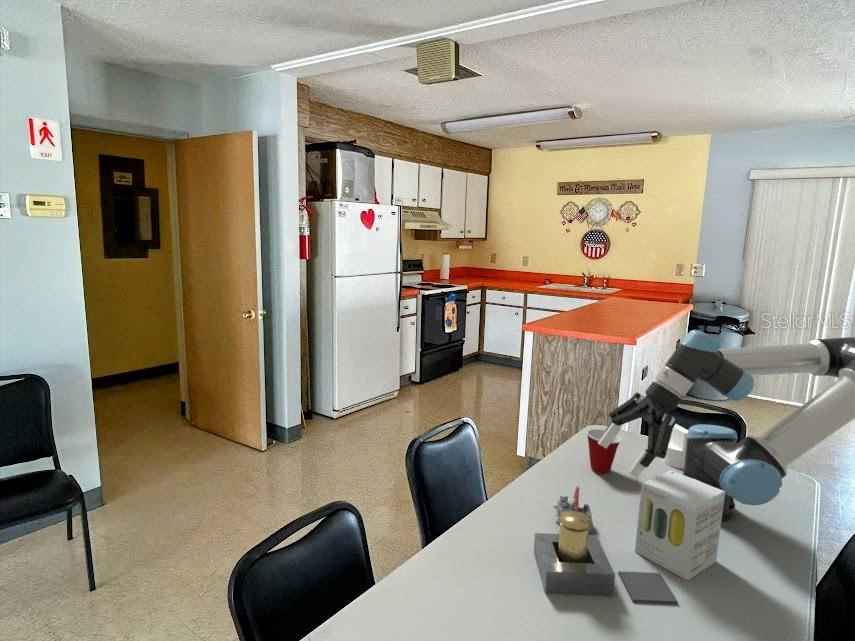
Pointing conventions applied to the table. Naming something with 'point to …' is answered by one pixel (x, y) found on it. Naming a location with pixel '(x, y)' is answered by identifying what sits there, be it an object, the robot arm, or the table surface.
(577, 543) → the end cover
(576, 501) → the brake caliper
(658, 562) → the supplement box
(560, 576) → the housing
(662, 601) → the mat
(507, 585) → the table surface
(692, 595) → the table surface
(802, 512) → the table surface
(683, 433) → the cylinder with rectangular tab
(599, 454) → the plastic cup
